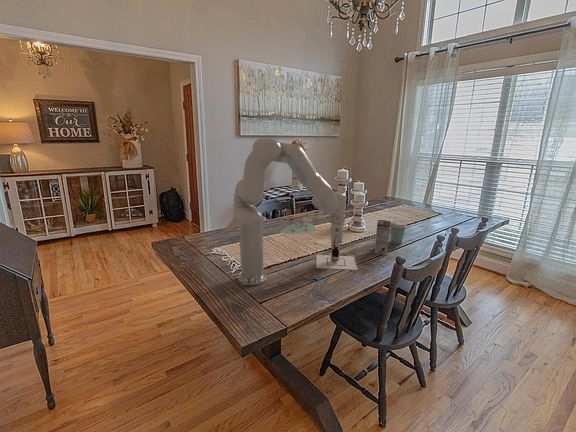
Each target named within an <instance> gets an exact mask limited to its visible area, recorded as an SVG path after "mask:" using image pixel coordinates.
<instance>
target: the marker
mask: <svg viewBox="0 0 576 432" xmlns="http://www.w3.org/2000/svg"><path fill="white" fill-rule="evenodd" d="M334 243H335V242H334ZM334 245H335V244H334ZM340 246H341V243H339V251H340V249H341V248H340ZM332 249H333V243H332V241H331V245H330V255H331V261H339V257H332Z"/></svg>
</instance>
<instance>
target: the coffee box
mask: <svg viewBox="0 0 576 432" xmlns="http://www.w3.org/2000/svg"><path fill="white" fill-rule="evenodd" d="M391 222H392V221H391V220H385V219H378V221H377V226H376V234H375V245H374V254H376V255H377V254H378V255H383V256H388V250H389V242H390V235H391V226H390V224H391Z"/></svg>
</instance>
